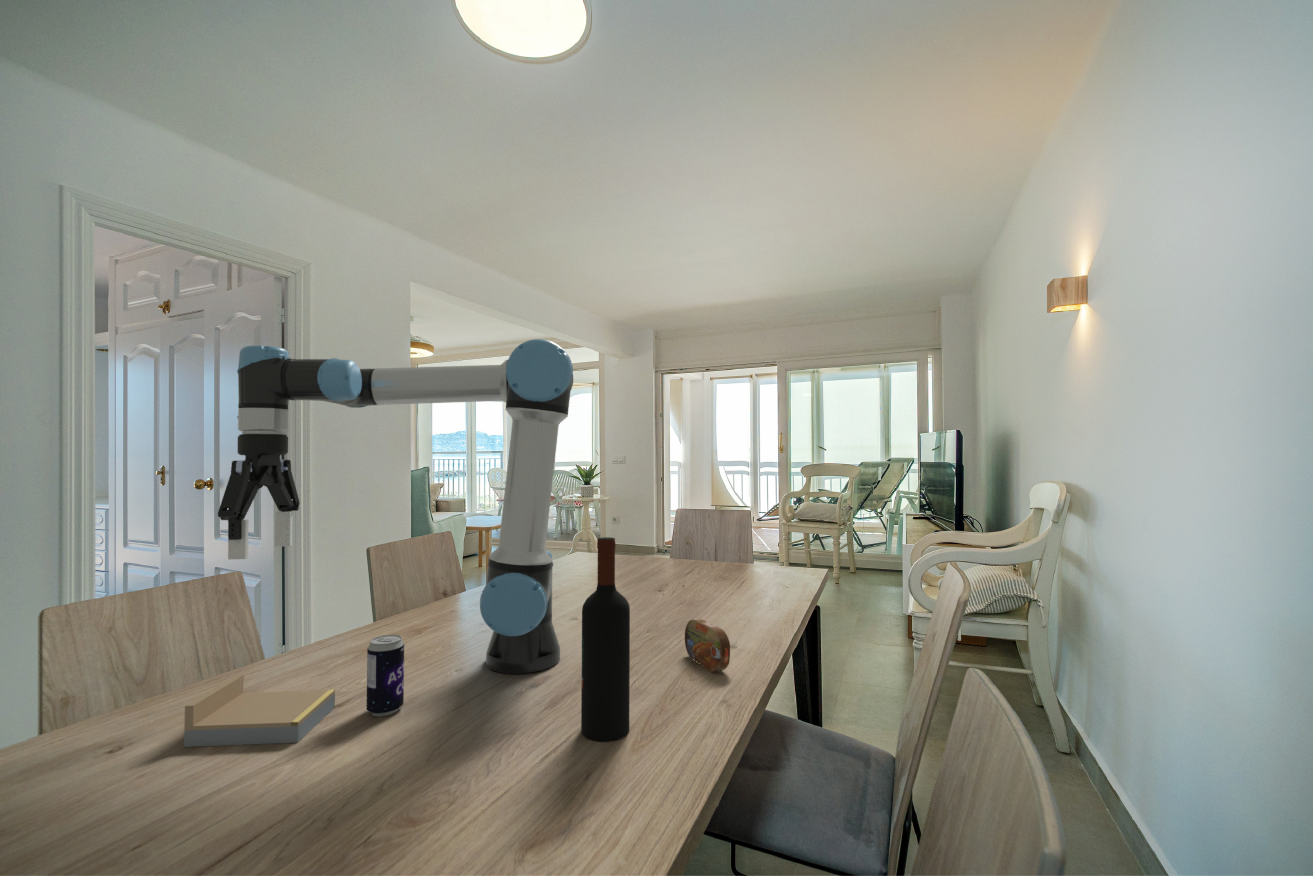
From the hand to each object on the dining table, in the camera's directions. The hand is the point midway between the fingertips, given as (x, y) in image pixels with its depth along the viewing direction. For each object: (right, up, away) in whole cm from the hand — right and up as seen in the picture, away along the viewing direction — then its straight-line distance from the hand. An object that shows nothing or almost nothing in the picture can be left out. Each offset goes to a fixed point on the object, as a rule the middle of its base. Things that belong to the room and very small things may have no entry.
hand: (262, 552), depth 104 cm
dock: (+8, -25, -11) cm, 29 cm away
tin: (+81, -27, +16) cm, 87 cm away
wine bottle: (+62, -26, -12) cm, 69 cm away
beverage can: (+25, -26, -6) cm, 36 cm away
